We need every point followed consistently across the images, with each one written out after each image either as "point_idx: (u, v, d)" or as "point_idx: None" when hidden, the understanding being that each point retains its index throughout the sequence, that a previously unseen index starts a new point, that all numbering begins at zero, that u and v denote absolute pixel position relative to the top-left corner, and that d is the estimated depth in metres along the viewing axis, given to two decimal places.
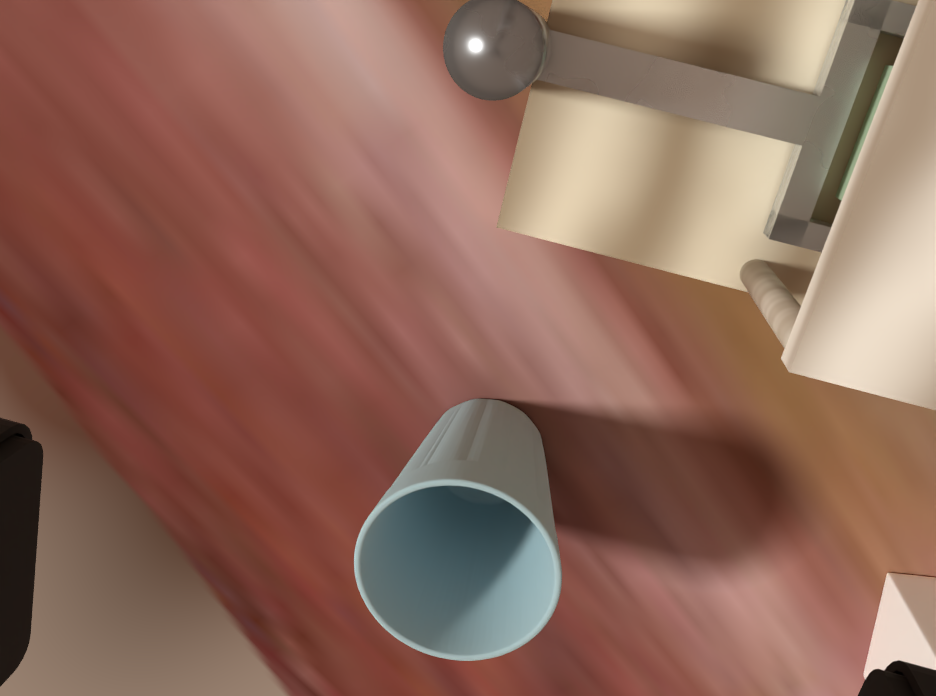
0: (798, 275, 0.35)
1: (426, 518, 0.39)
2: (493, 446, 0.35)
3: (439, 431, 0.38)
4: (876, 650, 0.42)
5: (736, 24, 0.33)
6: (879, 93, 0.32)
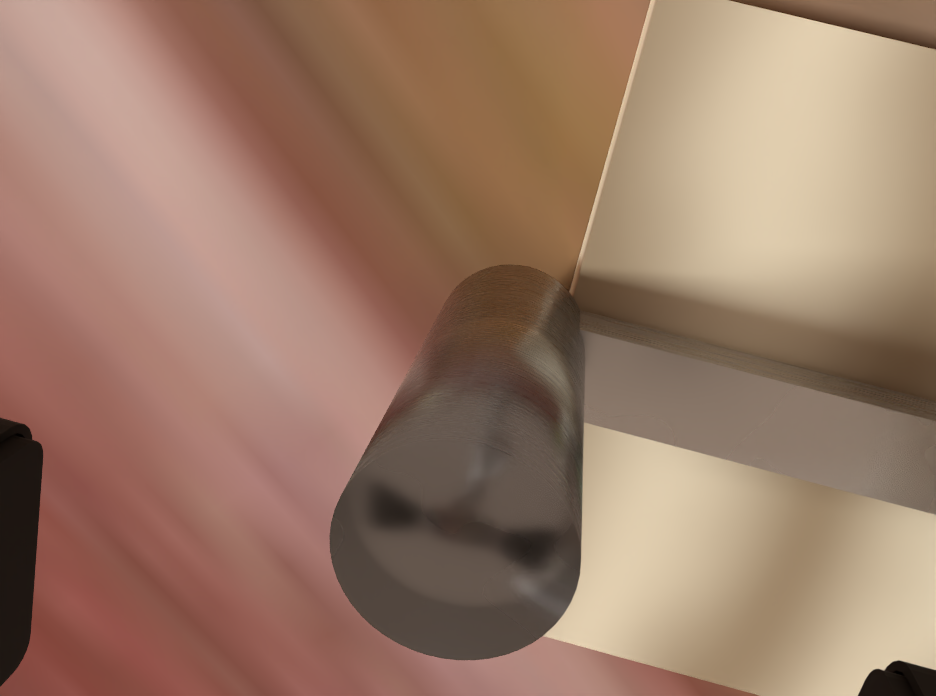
0: None
1: None
2: None
3: None
4: None
5: None
6: None
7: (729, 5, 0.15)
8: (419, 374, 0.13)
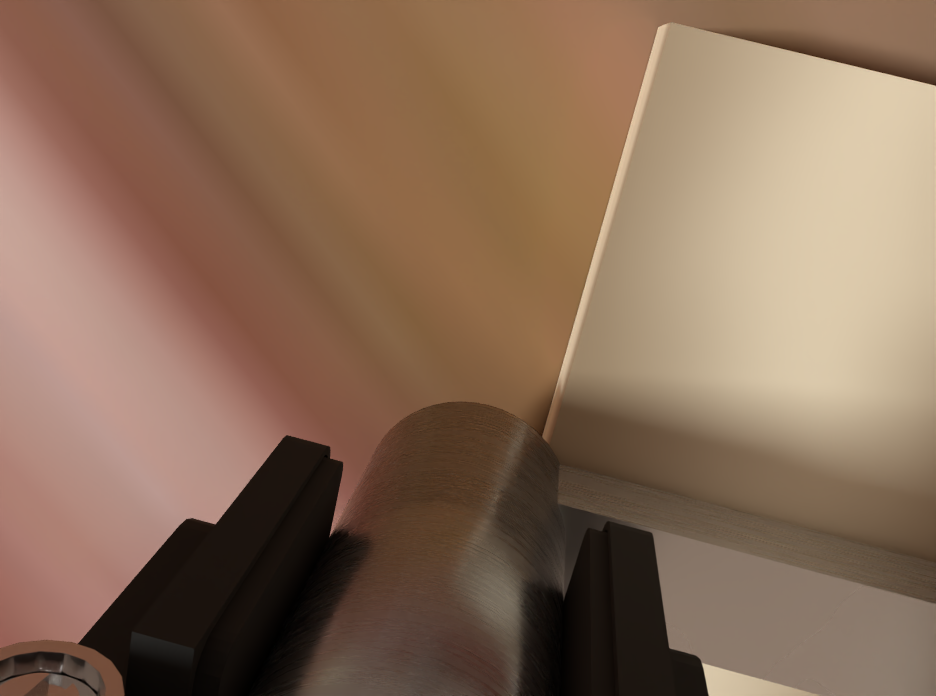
0: None
1: None
2: None
3: None
4: None
5: None
6: None
7: (768, 52, 0.11)
8: (291, 650, 0.08)
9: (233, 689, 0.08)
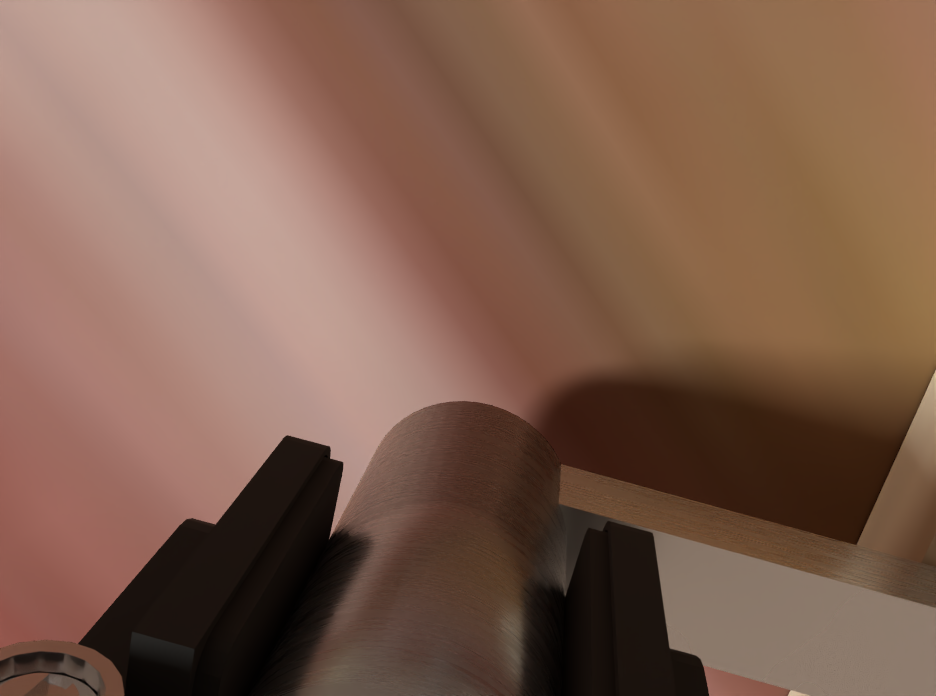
0: None
1: None
2: None
3: None
4: None
5: None
6: None
7: None
8: (294, 649, 0.08)
9: (233, 689, 0.08)
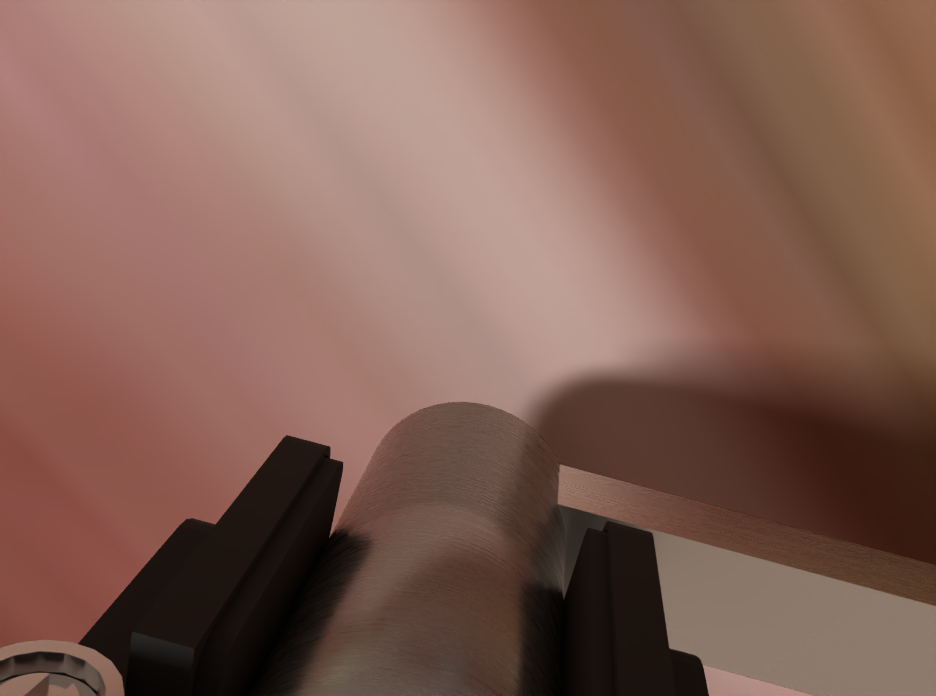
0: None
1: None
2: None
3: None
4: None
5: None
6: None
7: None
8: (292, 650, 0.08)
9: (233, 689, 0.08)
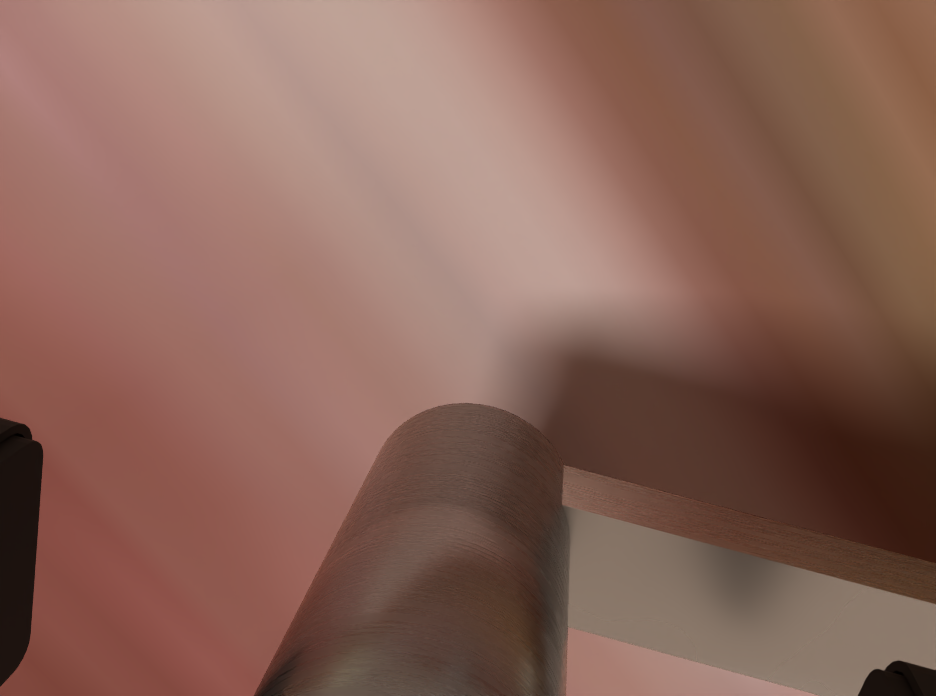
0: None
1: None
2: None
3: None
4: None
5: None
6: None
7: None
8: (298, 653, 0.08)
9: None
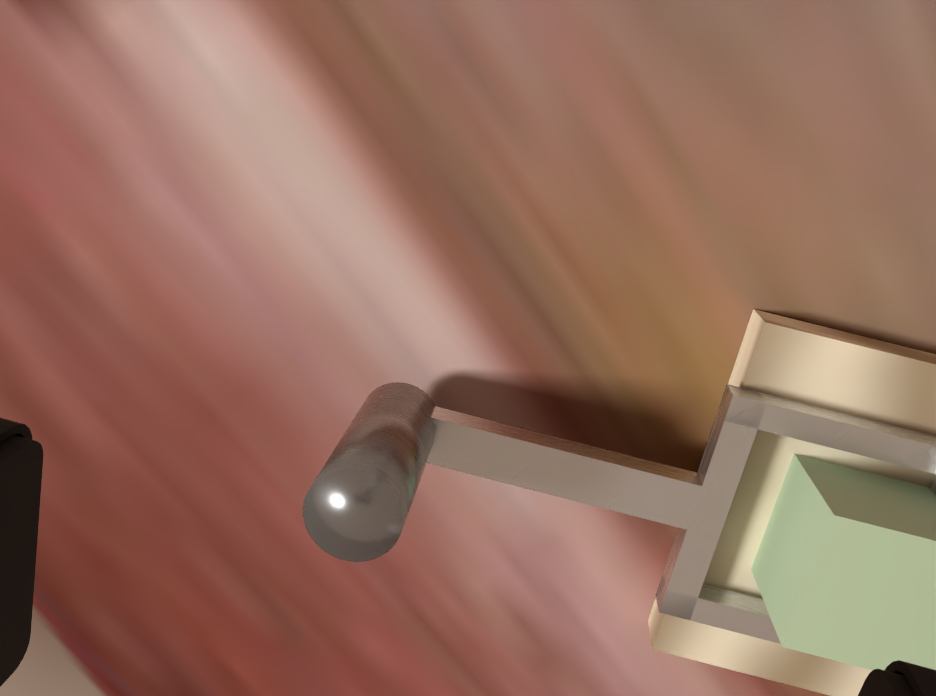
0: None
1: None
2: None
3: None
4: None
5: (909, 479, 0.32)
6: (789, 484, 0.32)
7: (798, 332, 0.31)
8: (343, 442, 0.28)
9: None
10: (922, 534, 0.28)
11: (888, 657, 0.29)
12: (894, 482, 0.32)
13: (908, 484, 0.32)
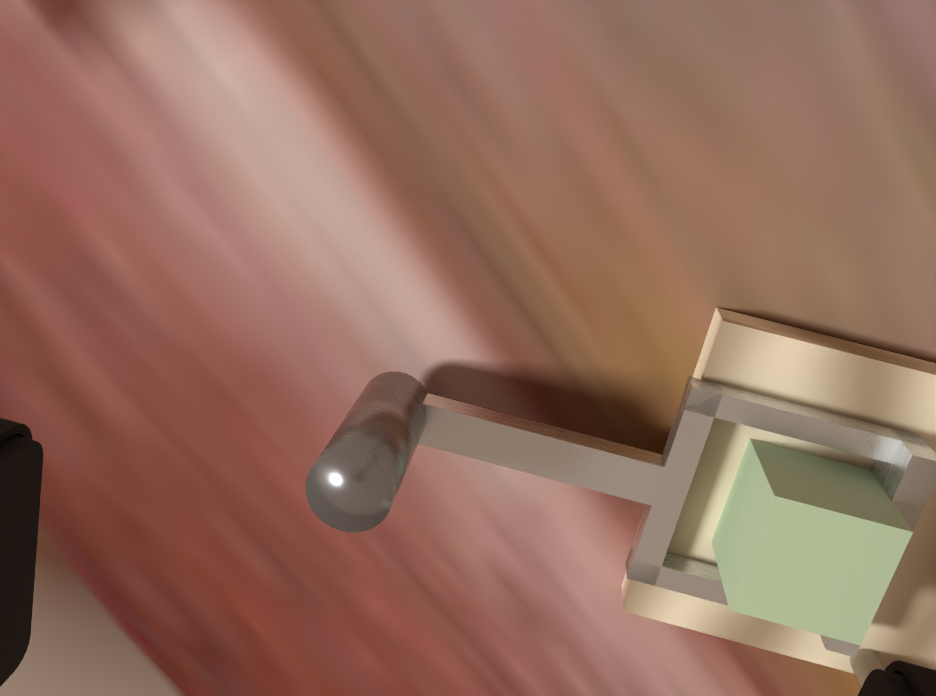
0: None
1: None
2: None
3: None
4: None
5: (854, 462, 0.36)
6: (744, 466, 0.36)
7: (753, 330, 0.35)
8: (342, 427, 0.32)
9: None
10: (853, 513, 0.32)
11: (823, 620, 0.33)
12: (839, 465, 0.36)
13: (852, 467, 0.36)
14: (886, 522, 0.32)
